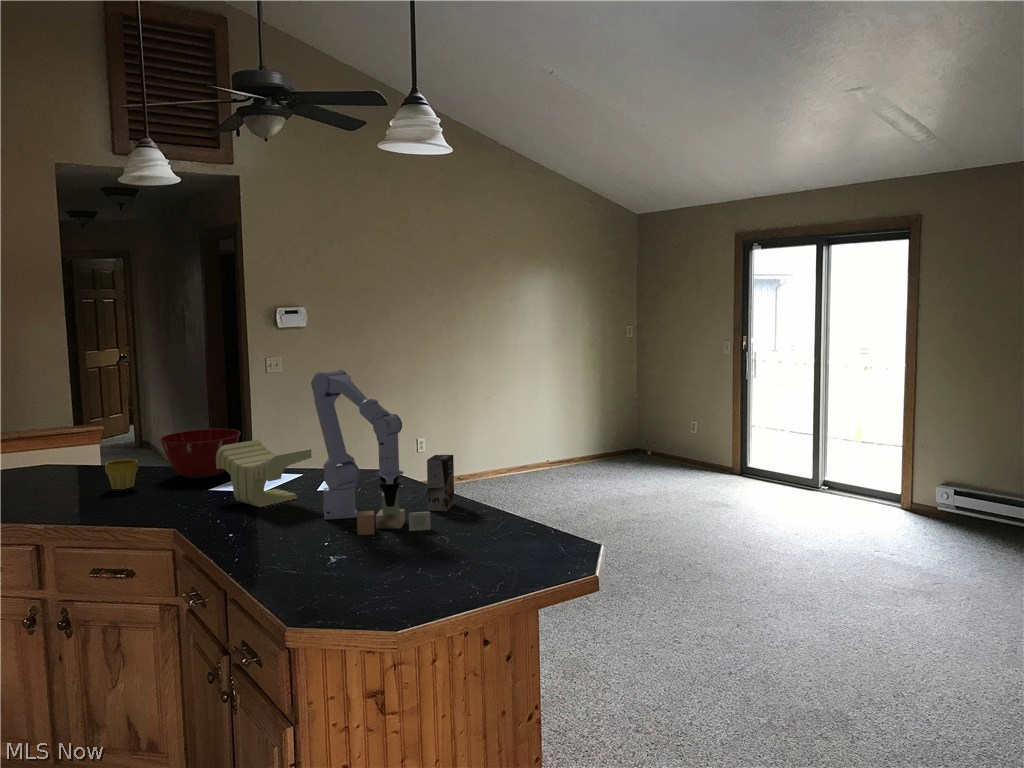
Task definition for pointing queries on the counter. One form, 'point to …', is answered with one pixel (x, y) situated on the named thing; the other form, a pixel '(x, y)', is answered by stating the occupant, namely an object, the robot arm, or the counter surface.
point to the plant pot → (121, 473)
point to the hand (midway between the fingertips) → (390, 503)
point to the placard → (419, 521)
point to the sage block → (392, 509)
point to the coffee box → (440, 482)
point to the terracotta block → (365, 522)
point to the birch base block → (390, 519)
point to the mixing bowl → (197, 450)
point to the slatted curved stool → (256, 471)
